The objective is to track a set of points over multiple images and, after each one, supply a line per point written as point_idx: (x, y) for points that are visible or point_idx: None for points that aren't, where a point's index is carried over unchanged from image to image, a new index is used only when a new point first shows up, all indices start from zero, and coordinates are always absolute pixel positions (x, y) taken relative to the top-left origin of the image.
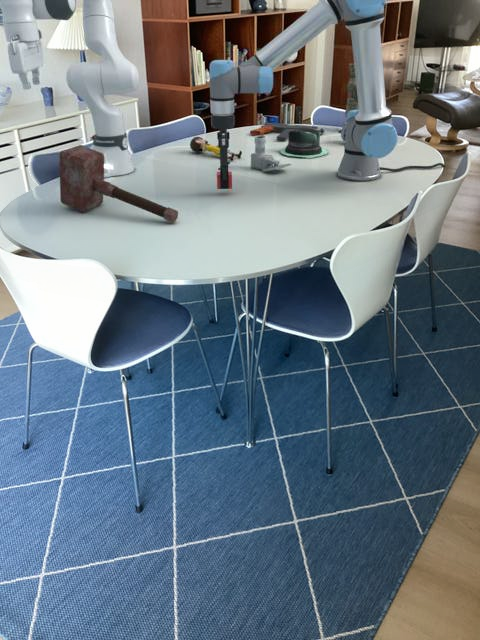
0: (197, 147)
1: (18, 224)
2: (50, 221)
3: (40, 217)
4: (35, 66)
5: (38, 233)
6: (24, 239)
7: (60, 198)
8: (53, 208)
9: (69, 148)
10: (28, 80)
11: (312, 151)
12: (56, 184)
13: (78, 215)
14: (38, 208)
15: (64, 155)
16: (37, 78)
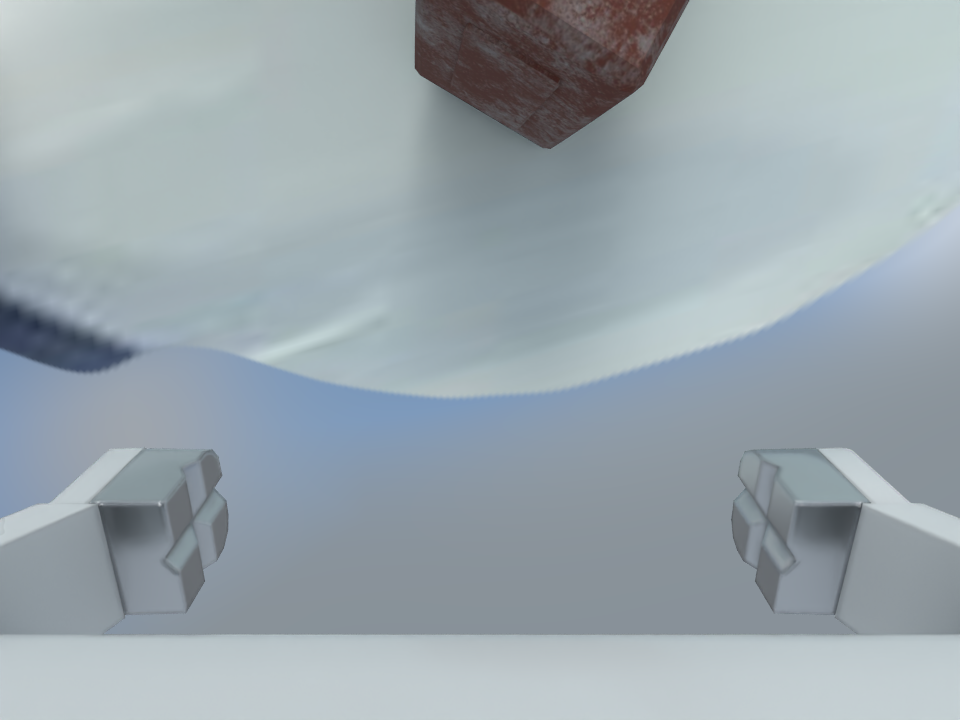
0: None
1: (709, 296)
2: (700, 163)
3: (636, 225)
4: (359, 675)
5: (845, 177)
6: (900, 218)
7: (553, 146)
8: (516, 197)
9: (561, 18)
10: (922, 525)
11: None
12: (134, 282)
13: None
14: (508, 269)
15: (663, 44)
16: (166, 509)
